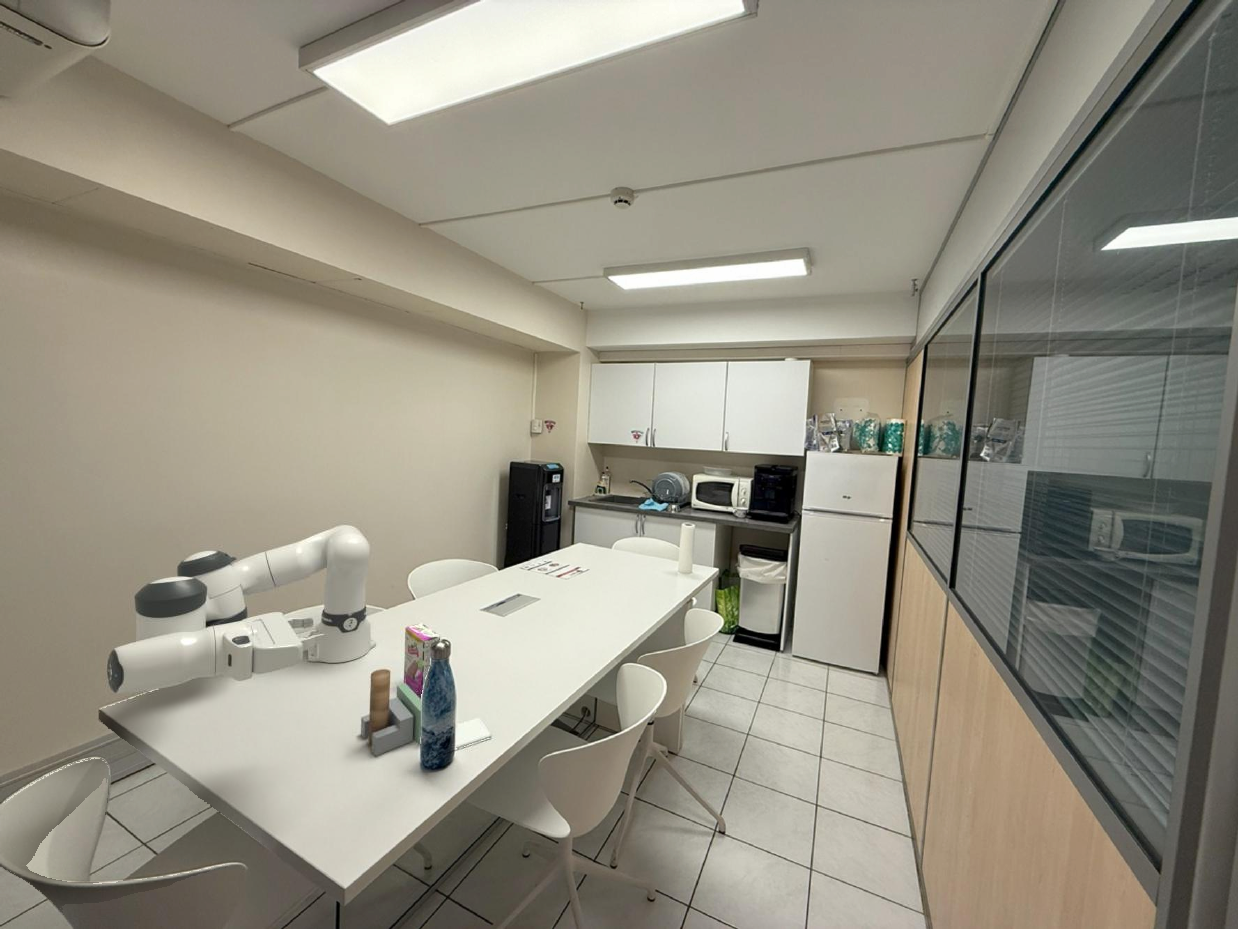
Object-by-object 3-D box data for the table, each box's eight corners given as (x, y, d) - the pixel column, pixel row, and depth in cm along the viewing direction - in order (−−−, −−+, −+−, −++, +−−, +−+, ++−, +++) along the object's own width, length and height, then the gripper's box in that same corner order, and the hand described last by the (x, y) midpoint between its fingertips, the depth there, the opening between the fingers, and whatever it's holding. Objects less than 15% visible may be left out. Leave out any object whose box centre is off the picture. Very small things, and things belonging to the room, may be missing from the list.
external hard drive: (491, 741, 115) (437, 759, 108) (478, 723, 122) (427, 738, 114) (491, 734, 115) (437, 752, 108) (479, 716, 122) (427, 732, 114)
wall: (395, 716, 121) (397, 685, 120) (404, 713, 122) (405, 683, 122) (418, 744, 111) (420, 711, 110) (427, 741, 112) (428, 708, 112)
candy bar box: (402, 683, 136) (404, 626, 135) (419, 677, 140) (421, 622, 139) (421, 700, 129) (423, 640, 128) (438, 693, 132) (441, 635, 131)
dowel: (366, 739, 112) (368, 672, 110) (384, 733, 114) (386, 667, 113) (371, 748, 109) (374, 679, 108) (390, 741, 111) (393, 674, 110)
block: (360, 733, 113) (361, 708, 113) (396, 720, 119) (397, 697, 119) (375, 755, 106) (376, 729, 106) (412, 741, 112) (413, 716, 112)
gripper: (226, 643, 98) (305, 627, 108) (241, 685, 84) (331, 662, 93) (226, 612, 98) (306, 599, 108) (242, 650, 83) (332, 631, 93)
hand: (318, 629), depth 100 cm, fingers open, 8 cm apart
